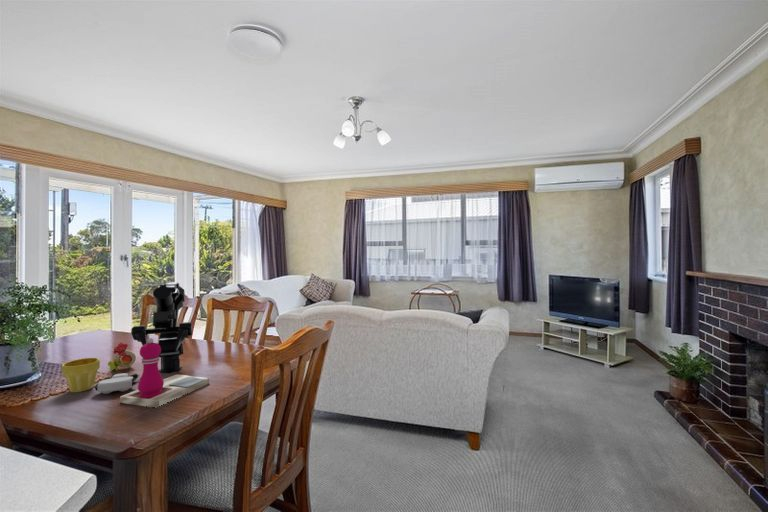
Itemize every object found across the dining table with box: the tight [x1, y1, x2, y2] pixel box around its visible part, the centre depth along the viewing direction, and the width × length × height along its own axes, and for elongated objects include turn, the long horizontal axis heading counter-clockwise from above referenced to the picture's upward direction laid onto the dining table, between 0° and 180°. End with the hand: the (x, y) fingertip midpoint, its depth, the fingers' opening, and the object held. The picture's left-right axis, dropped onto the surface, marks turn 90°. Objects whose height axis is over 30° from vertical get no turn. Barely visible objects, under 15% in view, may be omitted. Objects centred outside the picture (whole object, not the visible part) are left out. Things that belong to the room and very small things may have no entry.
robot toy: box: [92, 372, 141, 395], centre depth 131 cm, size 12×4×15 cm
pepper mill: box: [137, 337, 164, 399], centre depth 122 cm, size 7×7×20 cm
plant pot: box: [61, 357, 101, 393], centre depth 131 cm, size 10×10×10 cm
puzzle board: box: [119, 374, 210, 409], centre depth 127 cm, size 15×22×2 cm
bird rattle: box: [107, 342, 137, 372], centre depth 153 cm, size 6×11×9 cm
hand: (160, 352), depth 129 cm, fingers open, 9 cm apart
